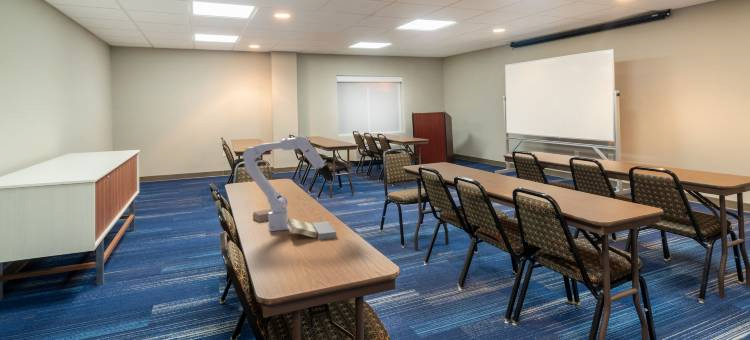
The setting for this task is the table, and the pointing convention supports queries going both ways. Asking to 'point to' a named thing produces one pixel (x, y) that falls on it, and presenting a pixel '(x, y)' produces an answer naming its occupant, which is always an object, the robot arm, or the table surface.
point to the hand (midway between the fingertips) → (330, 179)
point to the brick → (261, 215)
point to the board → (324, 230)
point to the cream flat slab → (301, 227)
